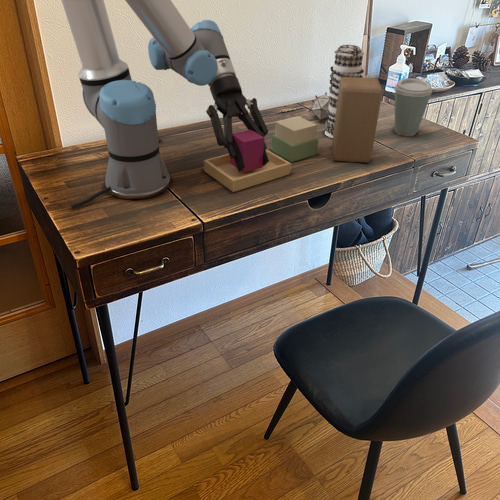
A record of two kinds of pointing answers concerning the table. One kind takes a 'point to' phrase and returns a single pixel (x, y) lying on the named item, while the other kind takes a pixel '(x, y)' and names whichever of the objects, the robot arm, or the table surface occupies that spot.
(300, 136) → the cream block
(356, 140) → the wooden block
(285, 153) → the sage block
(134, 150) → the robot arm
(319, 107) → the game die
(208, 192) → the table surface
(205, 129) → the table surface
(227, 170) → the tray
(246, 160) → the mulberry block
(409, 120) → the disposable coffee cup
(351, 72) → the leaning tower model
